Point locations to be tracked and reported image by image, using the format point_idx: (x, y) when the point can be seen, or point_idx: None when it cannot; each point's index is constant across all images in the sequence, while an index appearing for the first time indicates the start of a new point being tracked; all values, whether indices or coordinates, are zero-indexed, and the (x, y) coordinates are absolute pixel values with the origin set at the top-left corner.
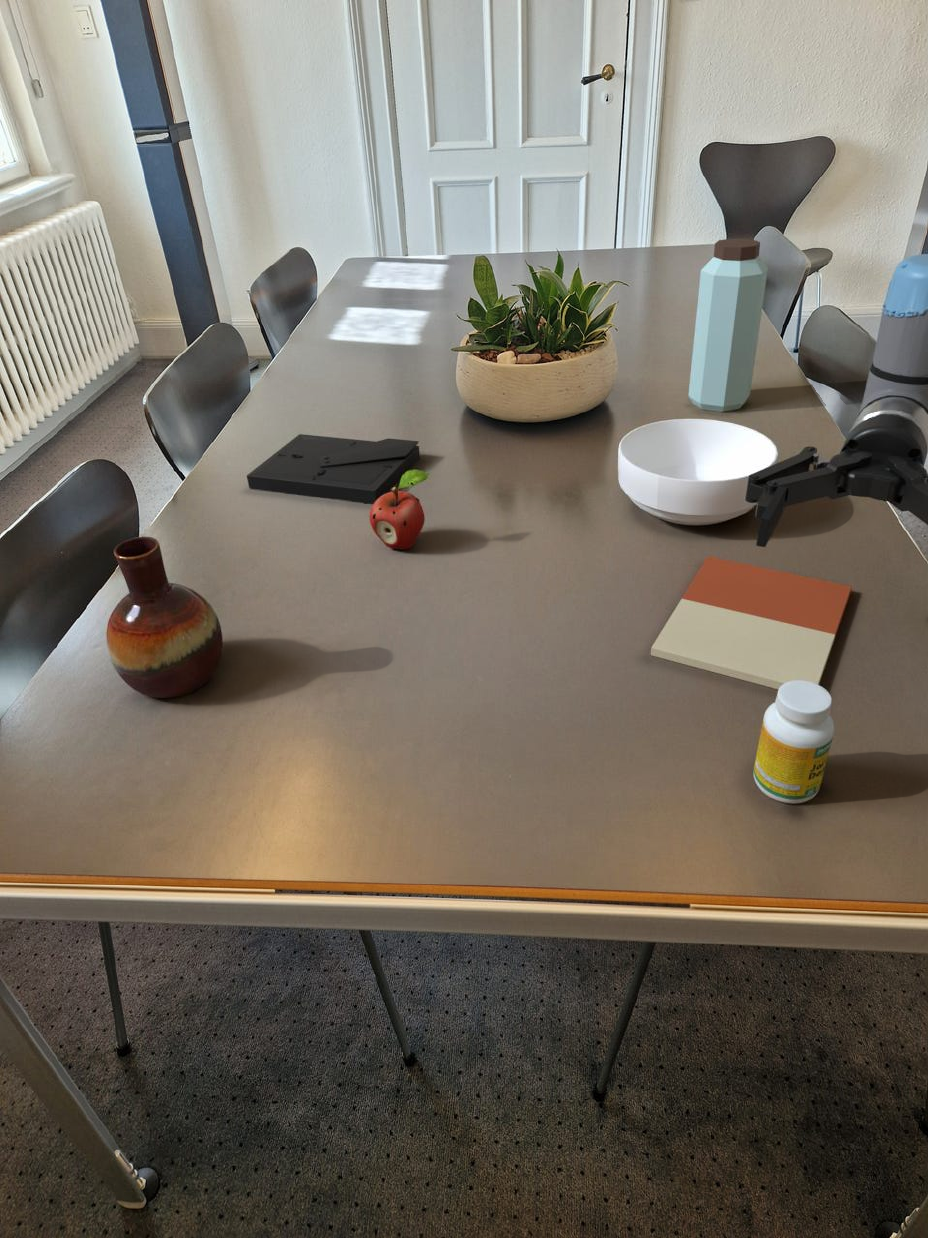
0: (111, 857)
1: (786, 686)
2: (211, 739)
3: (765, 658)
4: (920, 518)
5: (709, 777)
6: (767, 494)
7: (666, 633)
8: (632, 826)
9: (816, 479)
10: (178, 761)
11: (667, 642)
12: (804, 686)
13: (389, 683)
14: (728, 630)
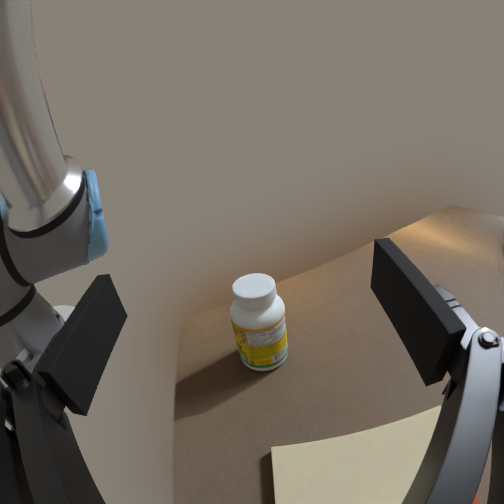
0: (442, 213)
1: (270, 286)
2: (485, 237)
3: (340, 467)
4: (100, 497)
5: (312, 334)
6: (464, 322)
7: None
8: (328, 290)
9: (437, 463)
10: (477, 230)
11: (435, 421)
12: (256, 291)
13: (496, 283)
14: (401, 483)
